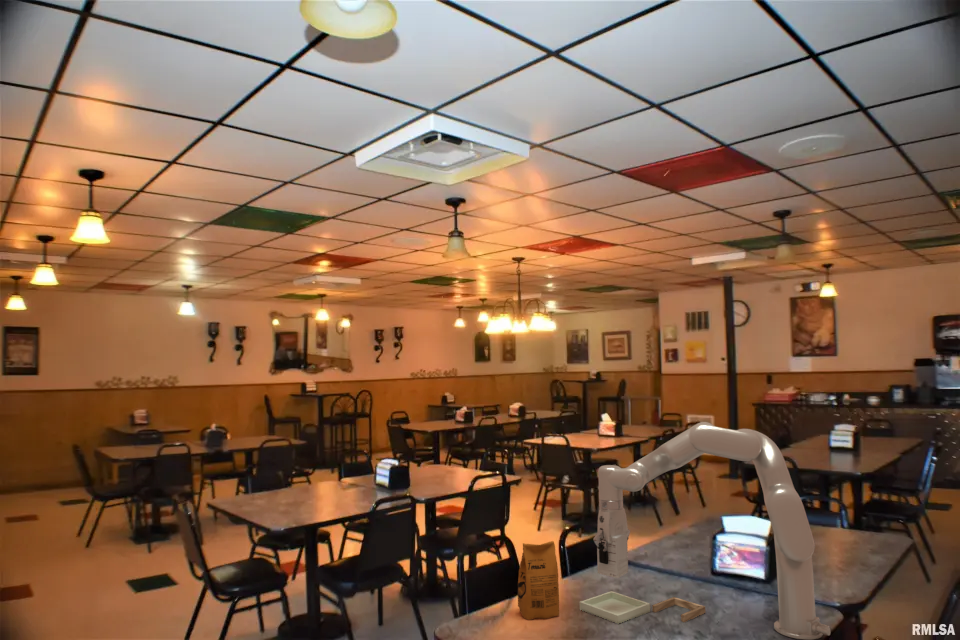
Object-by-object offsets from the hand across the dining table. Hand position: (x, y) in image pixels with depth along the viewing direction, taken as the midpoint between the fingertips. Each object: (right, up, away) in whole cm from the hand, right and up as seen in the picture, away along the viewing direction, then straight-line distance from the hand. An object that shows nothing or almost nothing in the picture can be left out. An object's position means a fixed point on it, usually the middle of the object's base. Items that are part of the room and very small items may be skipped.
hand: (612, 560), depth 204 cm
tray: (0, -16, -1) cm, 16 cm away
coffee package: (-24, -16, -3) cm, 29 cm away
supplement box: (0, -4, 0) cm, 4 cm away
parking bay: (+20, -15, -4) cm, 25 cm away
